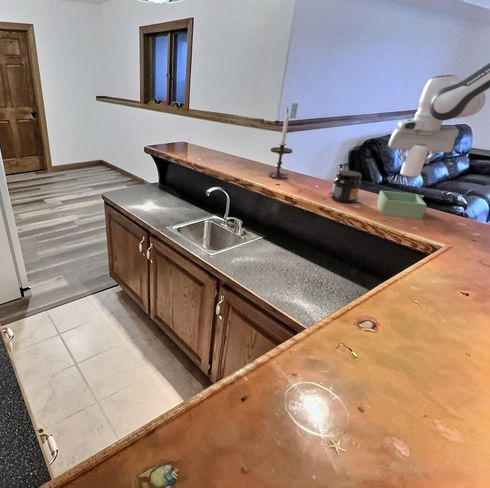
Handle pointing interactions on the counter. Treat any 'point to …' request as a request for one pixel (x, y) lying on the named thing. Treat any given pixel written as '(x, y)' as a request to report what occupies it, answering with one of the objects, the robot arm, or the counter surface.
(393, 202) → the box
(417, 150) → the can
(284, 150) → the candlestick
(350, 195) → the supplement container
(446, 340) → the counter surface
